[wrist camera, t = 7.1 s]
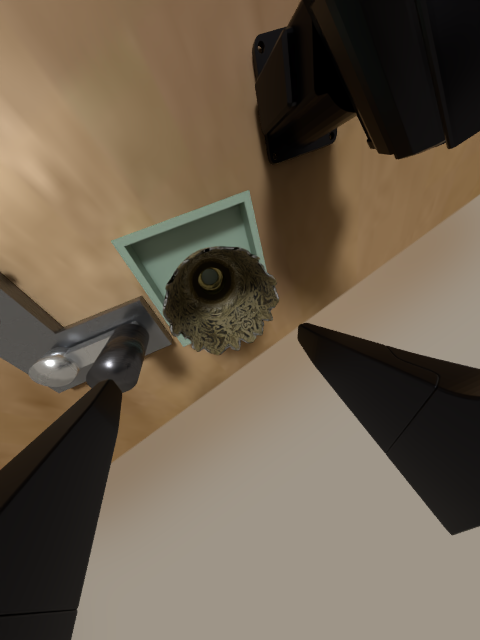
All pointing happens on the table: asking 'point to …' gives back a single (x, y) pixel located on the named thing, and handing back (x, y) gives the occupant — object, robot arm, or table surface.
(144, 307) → the grey l-bracket
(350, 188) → the table surface
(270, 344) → the table surface
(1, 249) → the table surface
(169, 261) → the tray
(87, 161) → the table surface
